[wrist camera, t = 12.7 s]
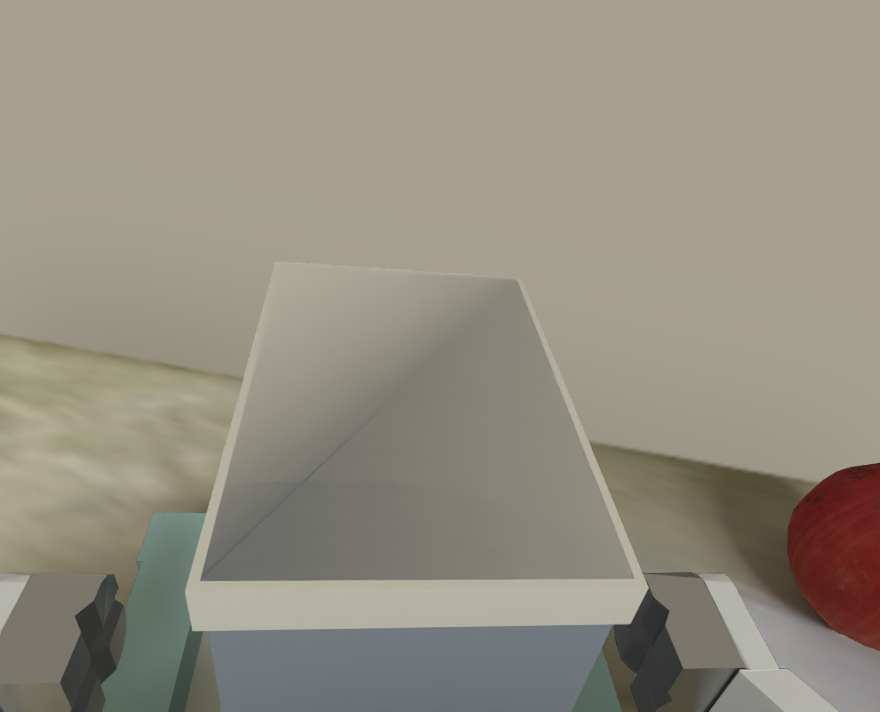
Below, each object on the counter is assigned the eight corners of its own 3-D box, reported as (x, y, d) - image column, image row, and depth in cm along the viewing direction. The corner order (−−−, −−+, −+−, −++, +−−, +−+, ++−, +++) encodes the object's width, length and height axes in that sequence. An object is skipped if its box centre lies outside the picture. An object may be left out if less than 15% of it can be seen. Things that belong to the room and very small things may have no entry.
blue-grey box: (444, 631, 17) (520, 277, 11) (474, 928, 12) (648, 587, 6) (288, 633, 17) (275, 261, 10) (252, 947, 12) (184, 591, 5)
